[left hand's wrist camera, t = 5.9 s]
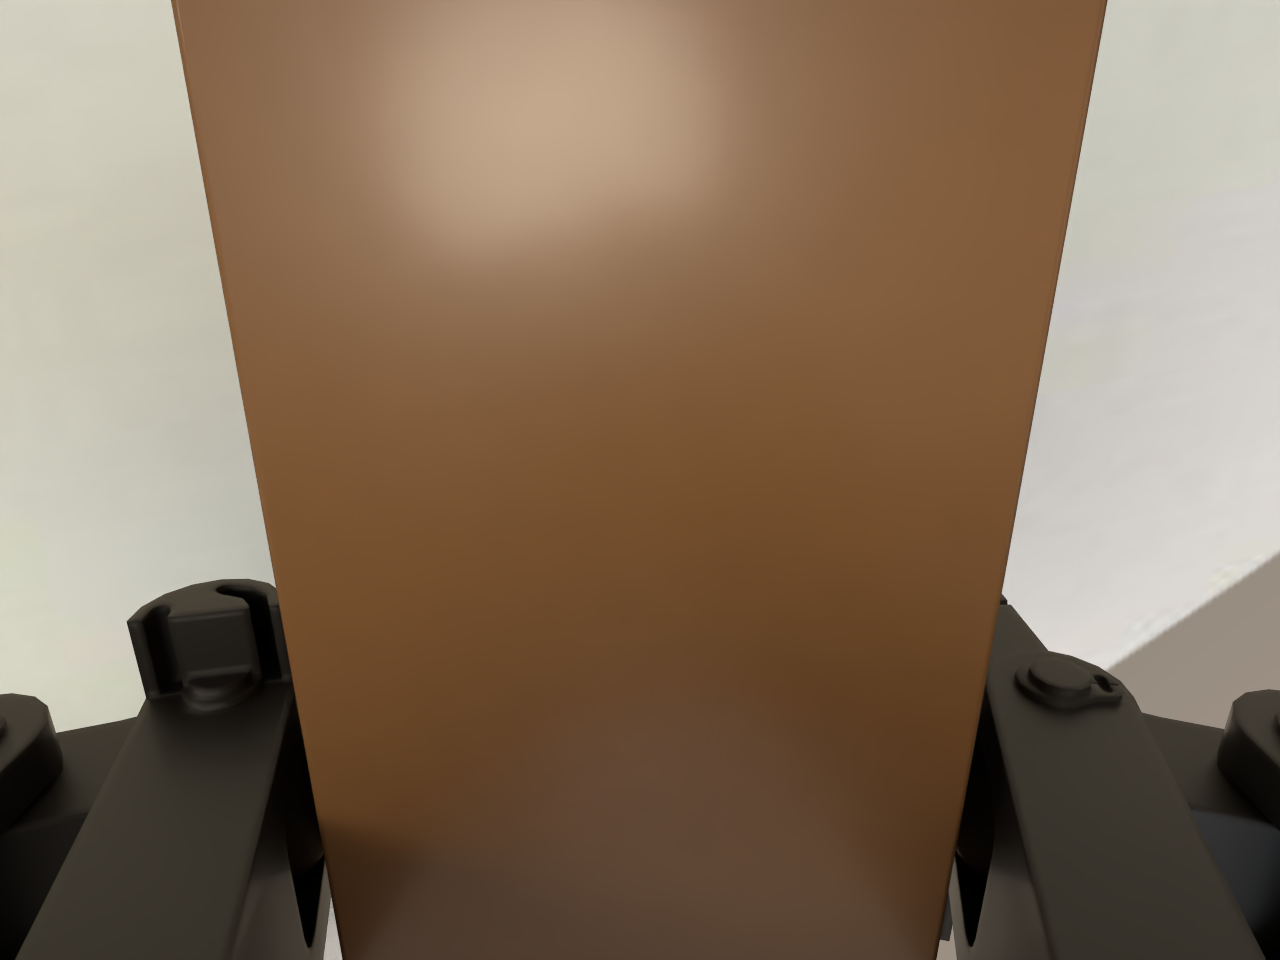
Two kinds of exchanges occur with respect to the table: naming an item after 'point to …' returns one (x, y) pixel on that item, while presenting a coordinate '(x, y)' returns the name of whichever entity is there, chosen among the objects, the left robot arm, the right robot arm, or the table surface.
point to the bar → (639, 444)
